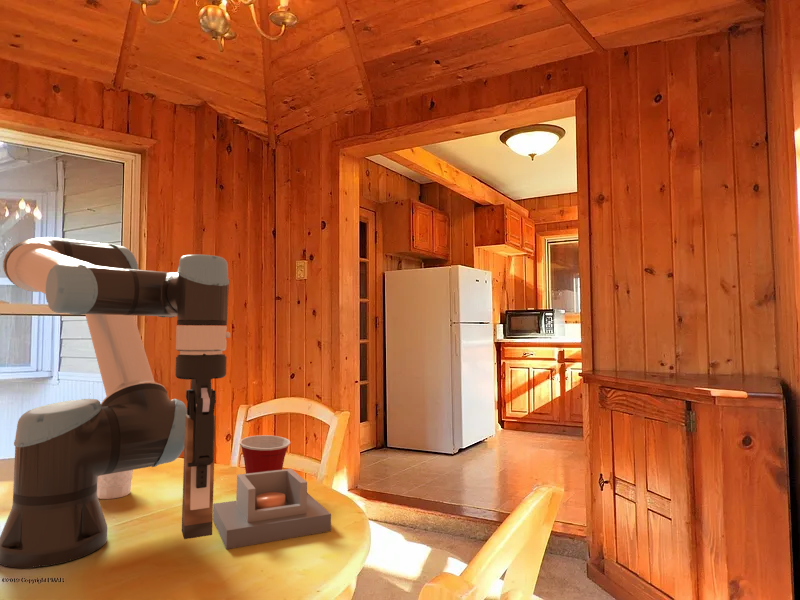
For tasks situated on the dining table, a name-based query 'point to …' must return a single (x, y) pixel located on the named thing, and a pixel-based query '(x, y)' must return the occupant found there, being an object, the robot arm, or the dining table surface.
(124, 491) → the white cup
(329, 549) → the dining table surface
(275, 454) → the plastic cup
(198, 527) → the brown wooden block
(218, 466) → the dining table surface
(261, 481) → the switch panel
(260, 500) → the button
